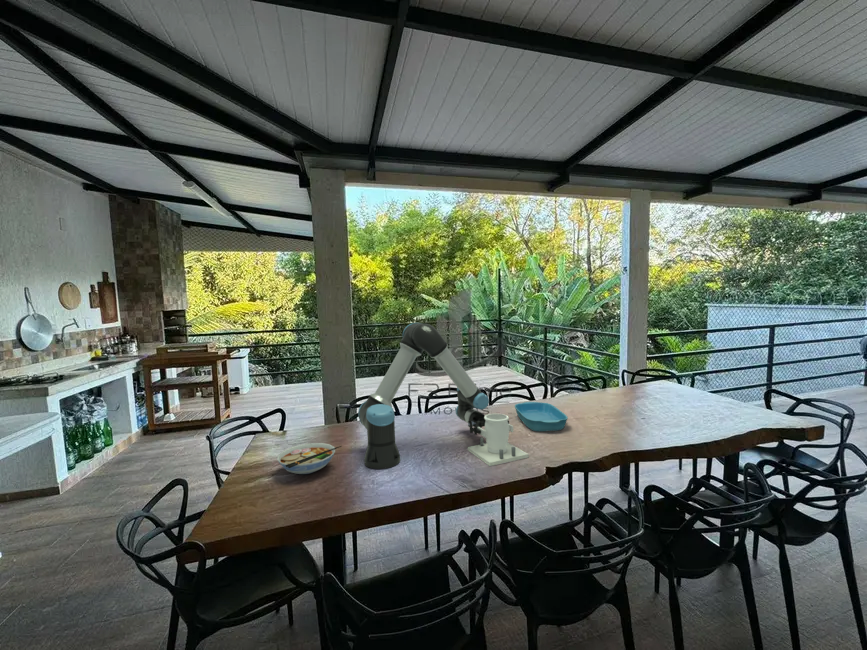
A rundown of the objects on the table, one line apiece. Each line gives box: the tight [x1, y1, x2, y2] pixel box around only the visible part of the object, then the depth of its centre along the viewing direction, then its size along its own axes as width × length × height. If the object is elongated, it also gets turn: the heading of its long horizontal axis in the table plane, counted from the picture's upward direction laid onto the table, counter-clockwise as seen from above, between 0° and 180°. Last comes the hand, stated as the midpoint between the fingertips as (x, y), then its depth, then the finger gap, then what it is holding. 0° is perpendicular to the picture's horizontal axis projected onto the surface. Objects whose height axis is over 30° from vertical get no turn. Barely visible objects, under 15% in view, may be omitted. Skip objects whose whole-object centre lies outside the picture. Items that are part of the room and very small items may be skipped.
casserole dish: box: [514, 401, 569, 432], centre depth 208 cm, size 37×22×7 cm, turn 4°
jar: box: [483, 413, 510, 454], centre depth 168 cm, size 11×10×15 cm
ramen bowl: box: [276, 442, 342, 475], centre depth 158 cm, size 25×23×8 cm
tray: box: [467, 436, 529, 467], centre depth 168 cm, size 19×19×5 cm
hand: (499, 431), depth 166 cm, fingers open, 13 cm apart
